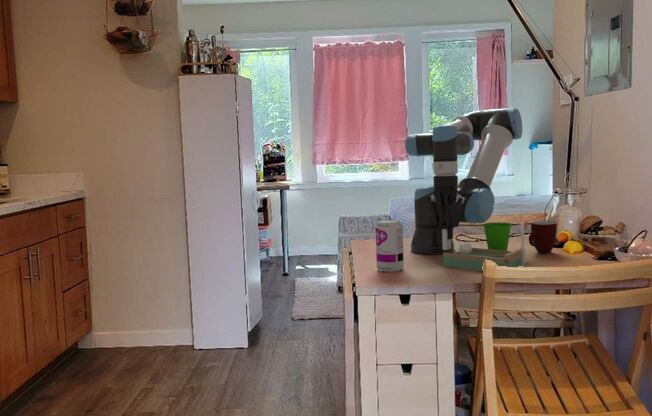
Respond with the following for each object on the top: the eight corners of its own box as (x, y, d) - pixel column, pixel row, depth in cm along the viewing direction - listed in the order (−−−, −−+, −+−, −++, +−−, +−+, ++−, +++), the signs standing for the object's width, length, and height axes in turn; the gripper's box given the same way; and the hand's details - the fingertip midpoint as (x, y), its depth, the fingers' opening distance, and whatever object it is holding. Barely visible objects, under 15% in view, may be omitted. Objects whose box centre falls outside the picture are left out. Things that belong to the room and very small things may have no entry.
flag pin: (518, 270, 173) (518, 222, 172) (524, 267, 177) (523, 221, 175) (525, 270, 172) (524, 223, 171) (530, 268, 175) (530, 221, 174)
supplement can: (385, 273, 176) (383, 224, 175) (372, 268, 184) (370, 221, 182) (408, 270, 180) (407, 221, 178) (395, 265, 187) (393, 218, 185)
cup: (497, 261, 186) (496, 227, 185) (477, 257, 194) (476, 224, 193) (518, 258, 190) (518, 224, 189) (498, 254, 198) (497, 221, 197)
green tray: (443, 266, 183) (442, 249, 183) (462, 259, 192) (461, 243, 191) (507, 273, 169) (507, 255, 169) (525, 266, 178) (524, 248, 178)
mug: (542, 256, 191) (542, 226, 190) (521, 253, 197) (521, 224, 196) (561, 252, 197) (561, 222, 196) (540, 249, 203) (540, 220, 202)
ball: (456, 255, 184) (456, 242, 184) (462, 253, 187) (462, 240, 187) (468, 256, 181) (468, 243, 181) (474, 254, 184) (474, 241, 184)
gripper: (421, 175, 187) (422, 249, 190) (457, 175, 179) (459, 252, 181) (434, 174, 193) (435, 245, 195) (470, 174, 184) (471, 249, 186)
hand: (446, 249), depth 188 cm, fingers closed
